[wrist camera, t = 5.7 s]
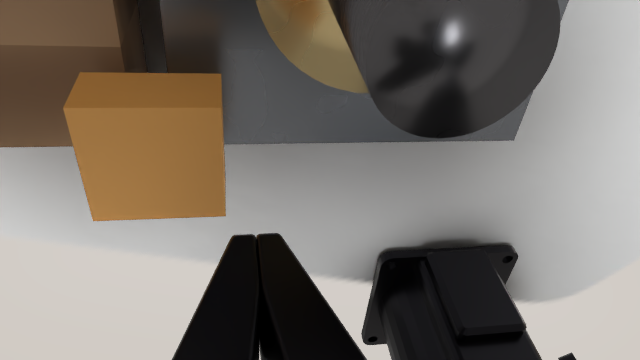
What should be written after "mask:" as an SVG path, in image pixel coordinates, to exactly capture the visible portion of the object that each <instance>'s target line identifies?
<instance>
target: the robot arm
mask: <svg viewBox="0 0 640 360" xmlns="http://www.w3.org/2000/svg"><path fill="white" fill-rule="evenodd" d="M517 259H518V255H517V253H516V251H515V249H514V248H513V247H512V246H508V245H506V246H487V247H467V248H448V249H429V250H409V251H391V252H386V253H384V254H383V255H381V256H380V258H379V260H378V264H377V269H376V273H375V277H374V281H373V286H372V290H371V294H370V299H369V303H368V307H367V312H366V316H365V320H364V325H363V329H362V339H363V342H364V343H365V344H367V345H377V344H387V345H388V348H389V352H390V355H391V359H392V360H542V359H541V357H540V355H539V353H538V351H537V350H536V348H535V346H534V344H533V342H532V340H531V339H530V337H529V335H528V333H527V331H526V324H525V322H524V320H523V318H522V316H521V315H520V313H519V311H518V309H517V307H516V305H515V303H514V302H513V300H512V298H511V296H510V294H509V292H508V291H507V289H506V287H505V284H506V282H507V280H508V278H509V276H510V274H511V271H512V269H513V267H514V265H515V263H516V261H517ZM259 345H260V355H261V360H367V359H366V358H365V356H364V355H363V353H362V352H361V350H360V349H359V347H358V346H357V345H356V343H355V342H354V340H353V339H352V337H351V336H350V335H349V333H348V332H347V330H346V329H345V327H344V326H343V324H342V323H341V322H340V320H339V319H338V317H337V316H336V314H335V313H334V311H333V310H332V308H331V307H330V306H329V304H328V303H327V301H326V300H325V298H324V297H323V296H322V294H321V293H320V291H319V290H318V288H317V287H316V285H315V284H314V282H313V281H312V279H311V278H310V277H309V275H308V274H307V272H306V271H305V269H304V268H303V266H302V265H301V264H300V262H299V261H298V259H297V258H296V256H295V255H294V253H293V252H292V251H291V249H290V248H289V246H288V245H287V243H286V242H285V240H284V239H283V238H282V236H281V235H280V234H278V233H268V234H259V235H257V237H255V235H253V234H246V235H234V236H232V238H231V239H230V241H229V243H228V245H227V247H226V249H225V251H224V253H223V255H222V257H221V259H220V262H219V264H218V266H217V268H216V270H215V272H214V274H213V276H212V278H211V280H210V282H209V284H208V286H207V289H206V290H205V292H204V295H203V297H202V299H201V301H200V303H199V305H198V307H197V309H196V311H195V313H194V315H193V317H192V319H191V321H190V323H189V325H188V328H187V330H186V332H185V334H184V336H183V338H182V340H181V342H180V344H179V346H178V348H177V350H176V352H175V354H174V357H173V358H172V360H259ZM558 359H559V360H576V359H575V357H574V355H573V354H572V353H569V354H567V355H565V356H562V357H560V358H558Z"/></svg>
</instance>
